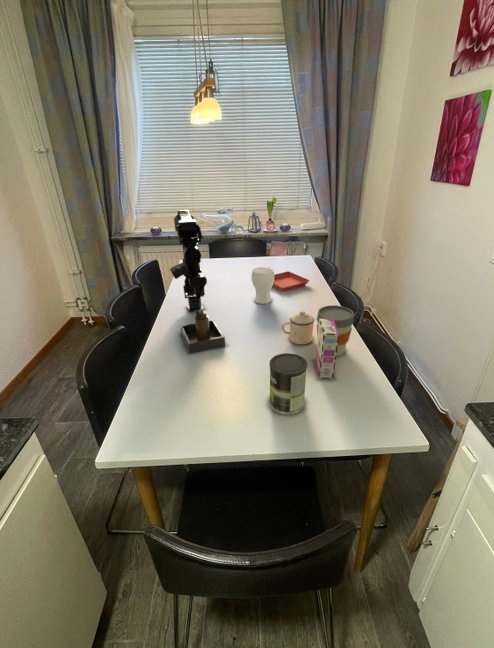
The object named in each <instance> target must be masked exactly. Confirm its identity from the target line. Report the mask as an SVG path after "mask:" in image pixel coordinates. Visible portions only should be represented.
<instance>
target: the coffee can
mask: <svg viewBox="0 0 494 648" xmlns="http://www.w3.org/2000/svg"><path fill="white" fill-rule="evenodd" d="M307 369H308V361H307V360H306V358H305V357H304V356H301V355H299V354H296V353H292V352H291V353H289V352H288V353H287V352H286V353H285V352H284V353H279V354H277V355H274V356H273V357H272V358H270V360H269V400H268V402H269V406H270V408H271V409H272V410H273V411H274V412H276V413H279V414H281V415H294V414H297V413H299V412H301V411H302V410H303V409H304V407H305V396H306V395H305V393H306V381H307Z"/></svg>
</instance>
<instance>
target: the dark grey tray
mask: <svg viewBox="0 0 494 648" xmlns="http://www.w3.org/2000/svg"><path fill="white" fill-rule="evenodd" d="M179 328H180V335H181V338H182V339H183V342H184V344H185V346H186V348H187V351H188V353H189V354H193V353H199V352H203V351H208V350H214V349H219V348H223V347H226V338H225V335H224V334H223V332H222V331H221V329H220V328H219V326H218V325H217V323H216V321H215V320H214V319H209V329H210V339H206V340H201V341H197V334H196V325H195V322H192V323H187V324H182V325H180V326H179Z"/></svg>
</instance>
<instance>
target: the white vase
mask: <svg viewBox="0 0 494 648" xmlns="http://www.w3.org/2000/svg"><path fill="white" fill-rule="evenodd" d="M274 275H275V271H274V269H273V268H272V267H269V266H259V267H254V268H252V271H251V284H252V285H253V288H254V290H255V296H254V302H255V303H256V304H262V305H264V304H265V305H266V304H269V303H271V302H272V297H271V291H272V287H273V283H274Z"/></svg>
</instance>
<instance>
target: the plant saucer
mask: <svg viewBox="0 0 494 648" xmlns="http://www.w3.org/2000/svg"><path fill="white" fill-rule="evenodd" d="M308 283H310V279H308V278H305V277H303V276H301V275H299V274H296V273H294V272H292V271H284V272H279V273H274V283H273V286H272V287H273V288H275V289H277V290H279V291H281V292H287V291H290V290H294V289H297V288H301V287H304V286H306V285H307V284H308Z"/></svg>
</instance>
